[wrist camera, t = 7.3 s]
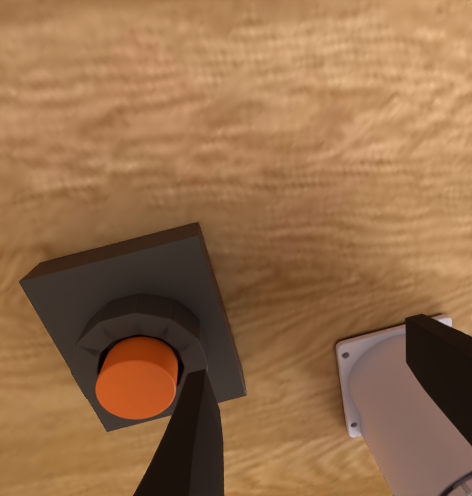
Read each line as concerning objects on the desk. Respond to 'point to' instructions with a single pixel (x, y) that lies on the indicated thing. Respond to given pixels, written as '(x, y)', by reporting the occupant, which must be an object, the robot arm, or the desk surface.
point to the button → (138, 378)
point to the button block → (138, 311)
